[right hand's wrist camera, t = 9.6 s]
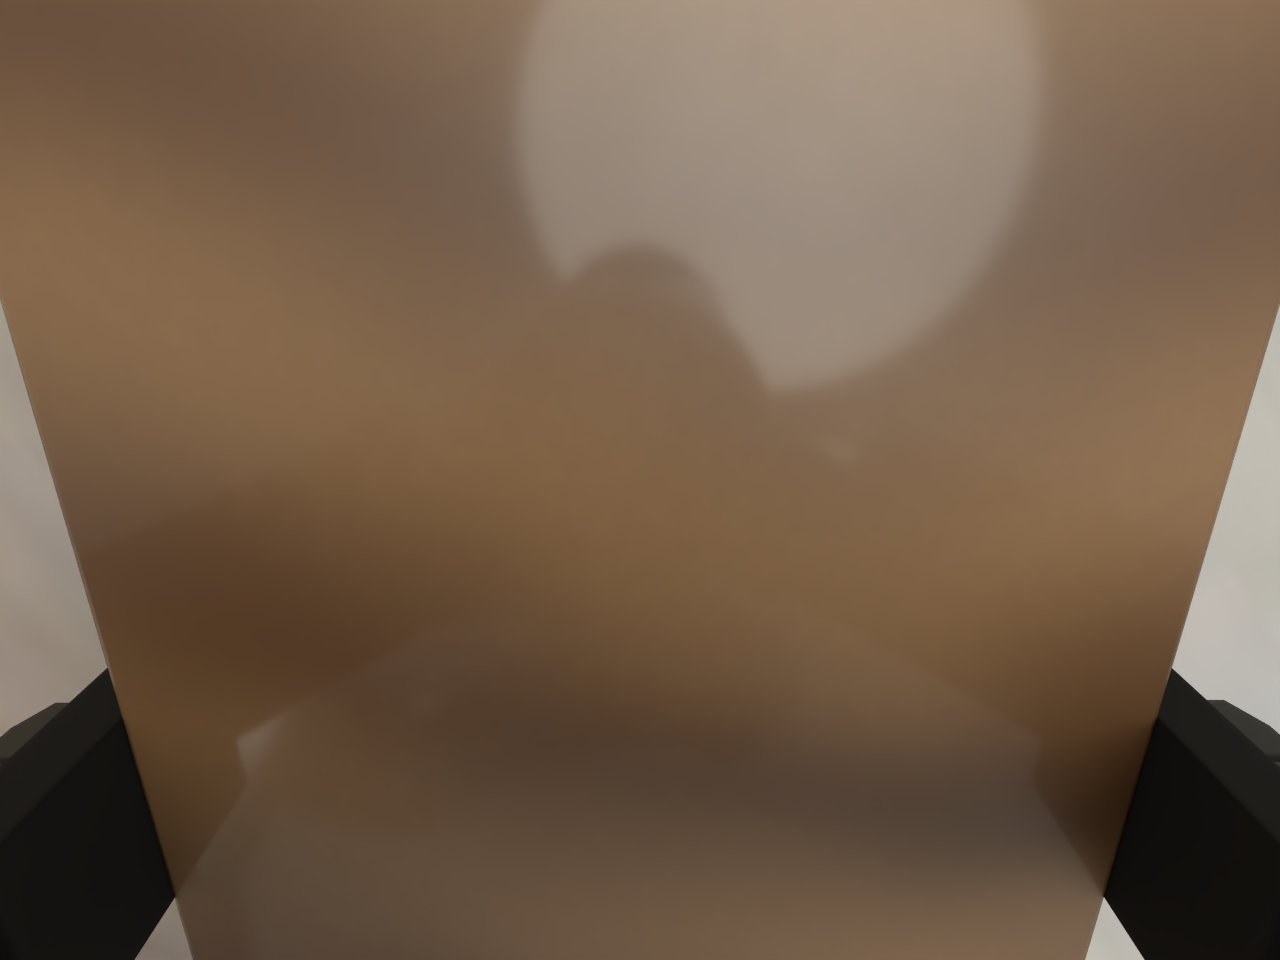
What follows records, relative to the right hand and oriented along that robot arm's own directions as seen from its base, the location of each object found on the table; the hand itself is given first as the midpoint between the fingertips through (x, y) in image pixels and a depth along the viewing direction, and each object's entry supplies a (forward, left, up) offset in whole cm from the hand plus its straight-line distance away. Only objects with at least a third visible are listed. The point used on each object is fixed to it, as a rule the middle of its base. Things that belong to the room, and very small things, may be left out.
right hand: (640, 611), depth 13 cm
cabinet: (+1, +7, -5) cm, 9 cm away
